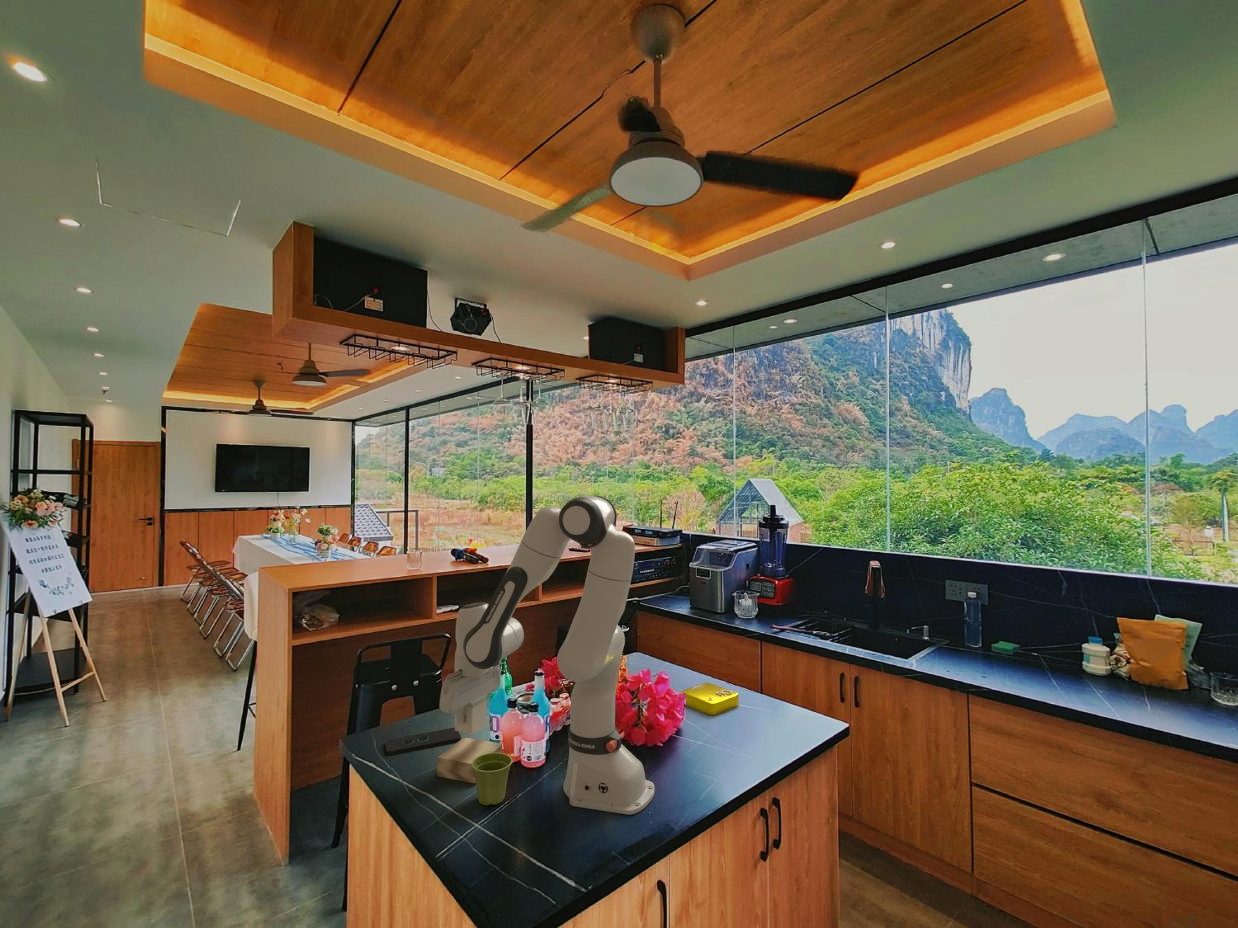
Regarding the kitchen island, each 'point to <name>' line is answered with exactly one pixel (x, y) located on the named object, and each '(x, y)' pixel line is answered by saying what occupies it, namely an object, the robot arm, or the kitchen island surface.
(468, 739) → the oak block
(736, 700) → the element tile
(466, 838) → the kitchen island surface
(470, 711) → the cream tea tin
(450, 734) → the smart home device
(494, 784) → the plant pot
